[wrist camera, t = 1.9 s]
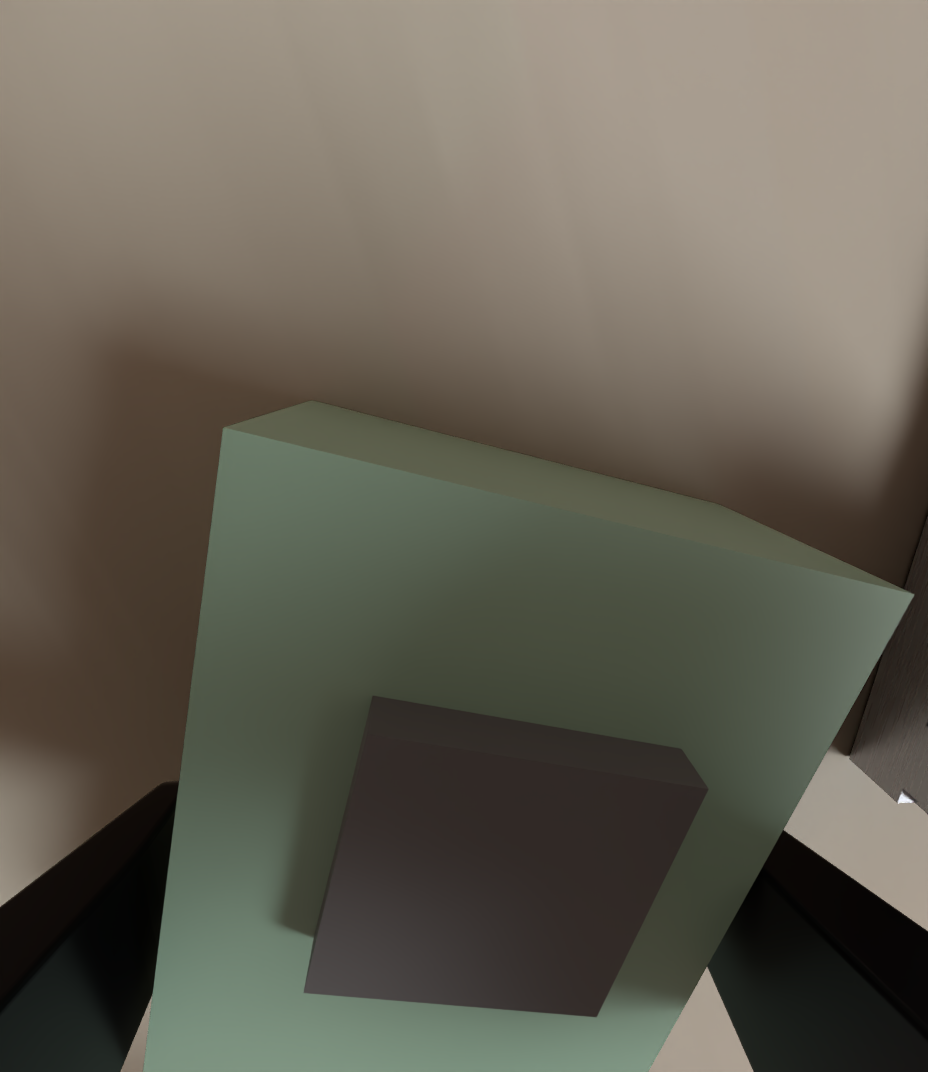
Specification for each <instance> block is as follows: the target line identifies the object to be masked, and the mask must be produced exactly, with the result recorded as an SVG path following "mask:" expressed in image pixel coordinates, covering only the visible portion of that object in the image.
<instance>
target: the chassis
mask: <svg viewBox="0 0 928 1072" xmlns="http://www.w3.org/2000/svg"><path fill="white" fill-rule="evenodd" d="M904 590H906V591H908V592H910V593H913V594H915V595H914V596H913V598H912V600H911V602H910V604H909V605H908V607H907V609H906V611H905V613H904V614H903V616H902V618H901V620H900V622H899V623H898V625H897V627H896V629H895V630H894V632H893V634H892V636H891V638H890V639H889V641H888V643H887V645H886V647H885V650H884V653H883V656H882V659H881V662H880V665H879V668H878V671H877V674H876V678H875V681H874V684H873V687H872V690H871V693H870V696H869V699H868V702H867V705H866V708H865V712H864V715H863V718H862V721H861V724H860V727H859V730H858V733H857V736H856V739H855V743H854V746H853V749H852V752H851V755H850V758H849V759H850V760H851V761H852V762H853V763H854V764H855V765H856V766H858V767H859V768H860V769H861V770H862V771H863V772H864V773H865V774H866V775H867V776H868V777H870V778H871V779H872V780H873V781H874V782H875V783H876V784H877V785H878V786H879V787H881V788H882V789H883V790H884V791H885V792H886V793H887V794H888V795H889V796H890V797H891V798H893V799H894V800H895V801H896V802H897V803H910V802H915V803H916V804H917V805H918V806H919V807H920V808H921V809H923V810H924V811H925V812H926V813H927V814H928V516H927V520H926V523H925V526H924V529H923V532H922V535H921V538H920V541H919V544H918V547H917V551H916V554H915V557H914V560H913V563H912V566H911V569H910V572H909V575H908V578H907V581H906V585H905V588H904Z"/></svg>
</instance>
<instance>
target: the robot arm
mask: <svg viewBox="0 0 928 1072" xmlns="http://www.w3.org/2000/svg"><path fill="white" fill-rule="evenodd" d="M178 786H179V781H170V782H164V783H162V784H160V785H159V786H157V787H156V788H155V789H153V790H152V791H151V792H149V793H148V794H147V795H145V796H144V797H143V798H142V799H140V800H139V801H138V802H136V803H135V804H134V805H132V806H131V807H130V808H129V809H127V810H126V811H125V812H123V813H122V814H121V815H119V816H118V817H117V818H115V819H114V820H113V821H112V822H110V823H109V824H108V825H106V826H105V827H104V828H102V829H101V830H100V831H99V832H97V833H96V834H95V835H93V836H92V837H91V838H89V839H88V840H87V841H85V842H84V843H83V844H82V845H80V846H79V847H78V848H76V849H75V850H74V851H72V852H71V853H70V854H69V855H67V856H66V857H65V858H63V859H62V860H61V861H59V862H58V863H57V864H55V865H54V866H53V867H52V868H50V869H49V870H48V871H46V872H45V873H44V874H42V875H41V876H40V877H39V878H37V879H36V880H35V881H33V882H32V883H31V884H29V885H28V886H27V887H25V888H24V889H23V890H22V891H20V892H19V893H18V894H16V895H15V896H14V897H12V898H11V899H10V900H9V901H7V902H6V903H5V904H3V905H2V906H1V907H0V1072H120V1071H121V1069H122V1066H123V1064H124V1061H125V1059H126V1057H127V1054H128V1052H129V1049H130V1047H131V1044H132V1042H133V1040H134V1037H135V1035H136V1032H137V1030H138V1028H139V1025H140V1023H141V1020H142V1018H143V1015H144V1013H145V1011H146V1008H147V1006H148V1003H149V1001H150V999H151V996H152V994H153V987H154V979H155V971H156V963H157V955H158V947H159V939H160V931H161V923H162V915H163V907H164V899H165V891H166V883H167V875H168V867H169V859H170V851H171V843H172V835H173V827H174V819H175V811H176V802H177V794H178ZM707 967H708V969H709V971H710V974H711V976H712V978H713V981H714V983H715V985H716V987H717V990H718V992H719V994H720V996H721V999H722V1001H723V1003H724V1005H725V1008H726V1010H727V1012H728V1015H729V1017H730V1019H731V1021H732V1024H733V1026H734V1028H735V1030H736V1033H737V1035H738V1037H739V1040H740V1042H741V1044H742V1046H743V1049H744V1051H745V1053H746V1055H747V1058H748V1060H749V1062H750V1065H751V1067H752V1069H753V1071H754V1072H928V931H927V930H925V929H924V928H922V927H921V926H920V925H918V924H917V923H915V922H914V921H912V920H911V919H910V918H908V917H907V916H905V915H904V914H902V913H901V912H900V911H898V910H897V909H895V908H894V907H892V906H891V905H890V904H888V903H887V902H885V901H884V900H882V899H881V898H880V897H878V896H877V895H875V894H874V893H873V892H871V891H870V890H868V889H867V888H865V887H864V886H863V885H861V884H860V883H858V882H857V881H855V880H854V879H853V878H851V877H850V876H848V875H847V874H845V873H844V872H843V871H841V870H840V869H838V868H837V867H835V866H834V865H833V864H831V863H830V862H828V861H827V860H825V859H824V858H823V857H821V856H820V855H818V854H817V853H816V852H814V851H813V850H811V849H810V848H808V847H807V846H806V845H804V844H803V843H801V842H800V841H798V840H797V839H796V838H794V837H793V836H791V835H790V834H788V833H787V832H786V831H784V830H783V831H782V833H781V835H780V836H779V838H778V840H777V842H776V844H775V845H774V847H773V849H772V851H771V853H770V854H769V856H768V858H767V860H766V861H765V863H764V865H763V867H762V869H761V870H760V872H759V874H758V876H757V878H756V879H755V881H754V883H753V885H752V887H751V888H750V890H749V892H748V894H747V895H746V897H745V899H744V901H743V903H742V904H741V906H740V908H739V910H738V912H737V913H736V915H735V917H734V919H733V921H732V922H731V924H730V926H729V928H728V930H727V931H726V933H725V935H724V937H723V938H722V940H721V942H720V944H719V946H718V947H717V949H716V951H715V953H714V955H713V956H712V958H711V960H710V962H709V964H708V965H707Z"/></svg>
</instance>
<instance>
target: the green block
mask: <svg viewBox="0 0 928 1072" xmlns="http://www.w3.org/2000/svg"><path fill="white" fill-rule="evenodd" d="M914 595H915V594H913V593H910V592H908V591H906V590H904V589H902V588H900V587H897V586H895V585H893V584H891V583H889V582H887V581H884V580H882V579H880V578H878V577H876V576H874V575H871V574H869V573H867V572H865V571H863V570H861V569H858V568H856V567H854V566H852V565H850V564H848V563H845V562H843V561H841V560H839V559H837V558H835V557H832V556H830V555H828V554H826V553H824V552H822V551H819V550H817V549H815V548H813V547H811V546H809V545H806V544H804V543H802V542H800V541H798V540H796V539H793V538H791V537H789V536H787V535H785V534H783V533H780V532H778V531H776V530H774V529H772V528H769V527H767V526H765V525H763V524H761V523H759V522H756V521H754V520H752V519H750V518H748V517H746V516H743V515H741V514H739V513H737V512H735V511H733V510H730V509H728V508H726V507H724V506H722V505H720V504H716V503H712V502H708V501H704V500H700V499H696V498H693V497H689V496H685V495H681V494H677V493H673V492H669V491H665V490H661V489H657V488H653V487H649V486H646V485H642V484H638V483H634V482H630V481H626V480H622V479H618V478H614V477H610V476H606V475H603V474H599V473H595V472H591V471H587V470H583V469H579V468H575V467H571V466H567V465H563V464H560V463H556V462H552V461H548V460H544V459H540V458H536V457H532V456H528V455H524V454H520V453H517V452H513V451H509V450H505V449H501V448H497V447H493V446H489V445H485V444H481V443H477V442H473V441H470V440H466V439H462V438H458V437H454V436H450V435H446V434H442V433H438V432H434V431H430V430H427V429H423V428H419V427H415V426H411V425H407V424H403V423H399V422H395V421H391V420H387V419H384V418H380V417H376V416H372V415H368V414H364V413H360V412H356V411H352V410H348V409H344V408H340V407H337V406H333V405H329V404H325V403H321V402H317V401H313V400H311V401H308V402H304V403H301V404H298V405H295V406H291V407H288V408H285V409H282V410H278V411H275V412H272V413H269V414H265V415H262V416H259V417H256V418H252V419H249V420H246V421H243V422H239V423H236V424H233V425H230V426H226V427H223V433H222V441H221V449H220V457H219V465H218V473H217V481H216V489H215V497H214V505H213V513H212V521H211V529H210V537H209V545H208V553H207V561H206V570H205V578H204V586H203V594H202V602H201V610H200V618H199V626H198V634H197V642H196V650H195V658H194V666H193V674H192V682H191V690H190V698H189V706H188V714H187V722H186V730H185V738H184V746H183V754H182V762H181V770H180V778H179V786H178V794H177V802H176V811H175V819H174V827H173V835H172V843H171V851H170V859H169V867H168V875H167V883H166V891H165V899H164V907H163V915H162V923H161V931H160V939H159V947H158V955H157V963H156V971H155V979H154V987H153V995H152V1003H151V1011H150V1019H149V1027H148V1035H147V1043H146V1052H145V1060H144V1068H143V1072H648V1071H649V1069H650V1067H651V1066H652V1064H653V1062H654V1060H655V1058H656V1057H657V1055H658V1053H659V1051H660V1050H661V1048H662V1046H663V1044H664V1042H665V1041H666V1039H667V1037H668V1035H669V1033H670V1032H671V1030H672V1028H673V1026H674V1024H675V1023H676V1021H677V1019H678V1017H679V1015H680V1014H681V1012H682V1010H683V1008H684V1007H685V1005H686V1003H687V1001H688V999H689V998H690V996H691V994H692V992H693V990H694V989H695V987H696V985H697V983H698V981H699V980H700V978H701V976H702V974H703V973H704V971H705V969H706V967H707V965H708V964H709V962H710V960H711V958H712V956H713V955H714V953H715V951H716V949H717V947H718V946H719V944H720V942H721V940H722V938H723V937H724V935H725V933H726V931H727V930H728V928H729V926H730V924H731V922H732V921H733V919H734V917H735V915H736V913H737V912H738V910H739V908H740V906H741V904H742V903H743V901H744V899H745V897H746V895H747V894H748V892H749V890H750V888H751V887H752V885H753V883H754V881H755V879H756V878H757V876H758V874H759V872H760V870H761V869H762V867H763V865H764V863H765V861H766V860H767V858H768V856H769V854H770V853H771V851H772V849H773V847H774V845H775V844H776V842H777V840H778V838H779V836H780V835H781V833H782V831H783V829H784V827H785V826H786V824H787V822H788V820H789V818H790V817H791V815H792V813H793V811H794V810H795V808H796V806H797V804H798V802H799V801H800V799H801V797H802V795H803V793H804V792H805V790H806V788H807V786H808V784H809V783H810V781H811V779H812V777H813V776H814V774H815V772H816V770H817V768H818V767H819V765H820V763H821V761H822V759H823V758H824V756H825V754H826V752H827V750H828V749H829V747H830V745H831V743H832V741H833V740H834V738H835V736H836V734H837V733H838V731H839V729H840V727H841V725H842V724H843V722H844V720H845V718H846V716H847V715H848V713H849V711H850V709H851V707H852V706H853V704H854V702H855V700H856V699H857V697H858V695H859V693H860V691H861V690H862V688H863V686H864V684H865V682H866V681H867V679H868V677H869V675H870V673H871V672H872V670H873V668H874V666H875V664H876V663H877V661H878V659H879V657H880V656H881V654H882V652H883V650H884V648H885V647H886V645H887V643H888V641H889V639H890V638H891V636H892V634H893V632H894V630H895V629H896V627H897V625H898V623H899V622H900V620H901V618H902V616H903V614H904V613H905V611H906V609H907V607H908V605H909V604H910V602H911V600H912V598H913V596H914Z"/></svg>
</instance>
